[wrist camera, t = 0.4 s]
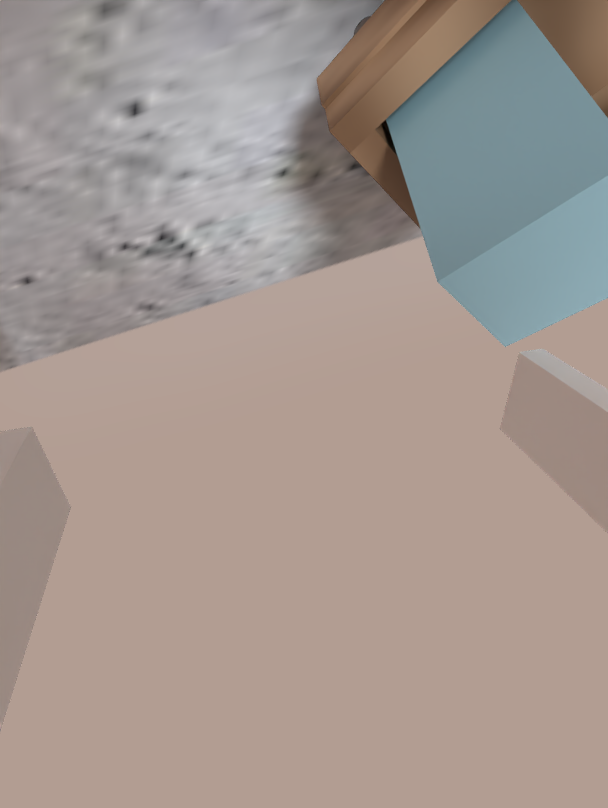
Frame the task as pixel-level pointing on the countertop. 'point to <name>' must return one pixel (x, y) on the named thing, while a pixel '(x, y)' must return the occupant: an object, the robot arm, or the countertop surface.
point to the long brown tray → (428, 51)
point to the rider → (509, 179)
